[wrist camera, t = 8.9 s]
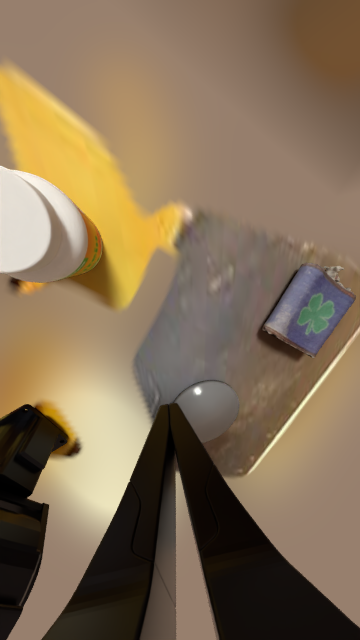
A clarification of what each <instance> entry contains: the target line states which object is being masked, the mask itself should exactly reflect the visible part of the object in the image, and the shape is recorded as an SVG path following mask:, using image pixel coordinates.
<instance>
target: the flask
mask: <svg viewBox="0 0 360 640" xmlns="http://www.w3.org/2000/svg"><path fill="white" fill-rule="evenodd" d="M324 268H326V266H325V267H324ZM341 269H342V270H344V268H341V267H340V266H336V267H330V268H329V267H327V268H326V270H327V271H325V270H324V269H323V268H322V267H321V266H319V265H316V264H313V263H304V264H302V265H301V267H300V268H299V270H298V272H297V274H296V275H295V277H294V278H293V280H292V282H291V283H290V285H289V287H288V288H287V290H286V291H285V293H284V294H283V296H282V298H281V299H280V301H279V303H278V304H277V306H276V307H275V309H274V310H273V312H272V313H271V315H270V317H269V318H268V320H267V321H266V323H265V324H264V326H263V329H262V330H263V331H265V332H267V333H269V334H271V335H273V336H275V337H276V338H279V339H280V340H282V341H283V342H285V343H287V344H289V345H291V346H293V347H294V348H296V349H298V350H299V351H302V352H303V353H305V354H307V355H308V356H310V357H312V358H314V357H315V356H316V354H317V353H318V351H319V349H320V348H321V347H322V345H323V344H324V342H325V341H326V340H327V339H328V337H329V336H330V335H331V333H332V332H333V330H334V328H335V327H336V326H337V324H338V323H339V321H340V320H341V319H342V317H343V316H344V315H345V313H346V312H347V310H348V309H349V307H351V305H352V304H353V303H354V301H355V298H356V295H354V293H353V292H351V288H344V287H343V284H341V283H338V282H339V280H340V279H339V275H338V272H339V271H340V270H341ZM341 285H342V286H341Z"/></svg>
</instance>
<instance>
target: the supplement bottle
mask: <svg viewBox="0 0 360 640" xmlns="http://www.w3.org/2000/svg"><path fill="white" fill-rule="evenodd" d="M102 247H103V246H102V239H101V235H100V233H99V231H98V229H97V227H96V226H95V225H94V223H93V222H92V221H91V220H90V219H89V218H88V217H87V216H86V215H85V214H84V213H83V212H82V211H81V210H80V209H79V208H78V207H77V206H76V205H75V204H74V203H73V202H72V201H71V200H70V199H69V198H68V197H67V196H66V195H65V194H64V193H63V192H62V191H61V190H60V189H58V188H57V187H56V186H54V185H53V184H51V183H50V182H48V181H47V180H45V179H43V178H41V177H38V176H36V175H33V174H30V173H27V172H22V171H17V170H9V169H7V168H5V167H3V166H0V273H5V274H7V275H9V276H11V277H14V278H17V279H20V280H23V281H29V282H39V283H43V282H53V281H57V280H61V279H64V278H68V277H72V276H76V275H80V274H83V273H86V272H88V271H90V270H91V269H93V268H94V267H95V266H96V265H97V263H98V262H99V260H100V258H101V255H102Z"/></svg>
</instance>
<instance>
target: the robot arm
mask: <svg viewBox="0 0 360 640" xmlns="http://www.w3.org/2000/svg"><path fill="white" fill-rule="evenodd" d="M25 409H27V410H25ZM67 440H68V437H67V436H66V435H65V434H64V433H63V432H62V431H61V430H59V429H58V428H57V427H56V426H55V425H54V424H52V423H51V422H50V421H49V420H48V419H47V418H45V417H44V416H43V415H42V414H41V413H40V412H38V411H37V410H36V409H35V408H34V407H32V406H31V405H29V404H26V405H23V406H21V407H19V408H18V409H16V410H14V411H13V412H11V413H9V414H7V415H6V416H4V417H2V418H1V419H0V640H6V639H7V638H8V636H9V634H10V632H11V630H12V629H13V627H14V626H15V624H16V622H17V620H18V619H19V617H20V615H21V613H22V610H23V606H24V604H25V602H26V601H27V599H28V597H29V594H30V592H31V590H32V588H33V585H34V582H35V580H36V577H37V575H38V572H39V568H40V565H41V560H42V554H43V547H44V540H45V532H46V525H47V517H48V510H49V505H48V504H45V503H42V504H41V503H38V502H35V501H32V500H29V499H27V497H29V496H30V495H31V494H32V493H33V490H34V488H35V486H36V483H37V481H38V479H39V476H40V474H41V472H42V470H43V469H44V468H45V465H46V463H47V461H48V458H49V456H50V454H51V452H53V451H54V450H56V449H58V448H59V447H61V446H63V445H64V444H66V443H67ZM175 453H176V458H177V462H178V467H179V471H180V475H181V480H182V485H183V489H184V494H185V498H186V503H187V507H188V512H189V516H190V521H191V525H192V530H193V535H194V539H195V543H196V548H197V553H198V557H199V562H200V566H201V571H202V575H203V580H204V584H205V589H206V593H207V597H208V602H209V607H210V611H211V615H212V620H213V625H214V629H215V634H216V638H217V640H360V628H359V627H358V626H357V625H356V624H355V623H353V622H352V621H351V620H350V619H349V618H348V617H347V616H346V615H345V614H344V613H343V612H342V611H340V609H338V608H337V607H336V606H335V605H334V604H333V603H332V602H331V601H330V600H329V599H328V598H327V597H326V596H324V595H323V594H322V593H321V592H320V591H319V590H318V589H317V588H316V587H315V586H314V585H313V584H312V583H311V582H309V581H308V580H307V579H306V578H305V577H304V576H303V575H302V574H301V573H300V572H299V571H298V570H297V569H295V568H294V567H293V566H292V565H291V564H290V563H289V562H288V561H287V560H286V559H285V558H284V557H283V556H282V555H281V554H280V552H279V551H278V550H277V549H276V548H275V547H274V545H273V544H272V543H271V542H270V540H269V539H268V538H267V537H266V535H265V534H264V533H263V532H262V530H261V529H260V528H259V526H258V525H257V524H256V522H255V521H254V520H253V519H252V517H251V516H250V515H249V513H248V512H247V511H246V510H245V508H244V507H243V505H242V504H241V503H240V501H239V500H238V499H237V497H236V496H235V495H234V493H233V492H232V490H231V489H230V488H229V486H228V485H227V483H226V482H225V480H224V479H223V477H222V475H221V474H220V472H219V471H218V469H217V467H216V466H215V464H214V463H213V461H212V459H211V458H210V456H209V454H208V453H207V451H206V449H205V448H204V446H203V444H202V443H201V441H200V439H199V438H198V436H197V434H196V433H195V431H194V429H193V428H192V426H191V424H190V423H189V421H188V420H187V418H186V416H185V415H184V413H183V411H182V410H181V408H180V406H179V405H178V403H170V404H169V405H168V404H165V405H161V406H160V408H159V410H158V413H157V415H156V417H155V420H154V422H153V425H152V427H151V430H150V432H149V434H148V437H147V439H146V442H145V444H144V447H143V449H142V452H141V454H140V456H139V459H138V461H137V464H136V466H135V468H134V471H133V473H132V476H131V478H130V482H129V483H128V485H127V488H126V490H125V493H124V495H123V497H122V499H121V502H120V504H119V506H118V508H117V511H116V513H115V515H114V517H113V519H112V521H111V523H110V525H109V527H108V529H107V531H106V533H105V535H104V537H103V539H102V541H101V543H100V545H99V547H98V548H97V550H96V552H95V554H94V556H93V558H92V560H91V562H90V564H89V566H88V568H87V570H86V572H85V574H84V576H83V578H82V580H81V581H80V583H79V585H78V587H77V589H76V591H75V592H74V594H73V596H72V598H71V599H70V601H69V603H68V604H67V606H66V607H65V609H64V610H63V611H62V613H61V614H60V616H59V617H58V619H57V620H56V621H55V623H54V624H53V625H52V626H51V628H50V629H49V630H48V632H47V633H46V634H45V636H44V637H43V638H42V640H176V609H175V608H176V508H175V507H176V503H175V502H176V501H175V500H176V499H175V498H176V496H175V495H176V490H175V488H176V487H175V485H176V484H175Z"/></svg>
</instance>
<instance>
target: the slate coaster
mask: <svg viewBox="0 0 360 640" xmlns="http://www.w3.org/2000/svg"><path fill="white" fill-rule="evenodd" d="M173 403H178V405H179V406H180V408H181V410H182V411H183V413H184V415H185V416H186V418H187V420H188V421H189V423H190V424H191V426H192V428H193V429H194V431H195V433H196V434H197V436H198V438H199V439H200V441H201V443H204V442H208V441H211V440H213V439H215V438H217V437H219V436H220V435H222V434H223V433H224V432H225V431H227V430H228V429H229V428H230V426H231V425H232V424H233V422H234V421H235V419H236V417H237V414H238V411H239V399H238V396H237V394H236V393H235V391H234V390H233V389H232V388H231V387H230V386H229V385H228V384H226V383H224V382H221V381H217V380H207V381H202V382H198V383H196V384H193V385H191V386H190V387H188V388H186V389H185V390H184V391H183V392H181V393H180V394H179V395H178V396H177V398H176V399H175V400H174V402H173Z"/></svg>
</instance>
